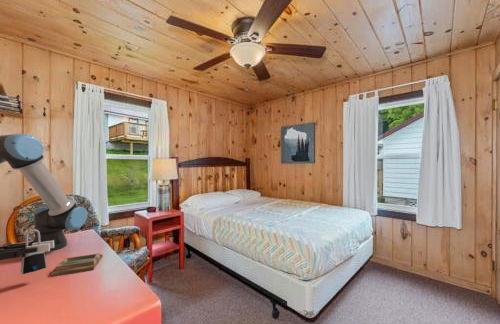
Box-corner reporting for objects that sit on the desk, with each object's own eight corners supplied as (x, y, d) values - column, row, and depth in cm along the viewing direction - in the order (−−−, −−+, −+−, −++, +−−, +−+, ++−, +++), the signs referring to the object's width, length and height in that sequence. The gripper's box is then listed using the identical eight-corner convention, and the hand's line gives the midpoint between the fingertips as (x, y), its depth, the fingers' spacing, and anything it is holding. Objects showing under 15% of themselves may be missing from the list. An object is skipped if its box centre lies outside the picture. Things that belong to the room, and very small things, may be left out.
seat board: (66, 262, 104) (66, 256, 104) (102, 256, 109) (102, 251, 109) (51, 276, 90) (51, 269, 90) (93, 269, 95) (93, 263, 95)
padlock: (44, 265, 89) (43, 226, 89) (46, 267, 87) (45, 228, 87) (20, 271, 84) (19, 230, 84) (22, 274, 81) (20, 232, 82)
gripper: (-16, 259, 87) (60, 248, 95) (-54, 278, 71) (41, 263, 80) (-17, 239, 87) (60, 230, 95) (-54, 254, 71) (40, 242, 80)
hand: (51, 245), depth 87 cm, fingers closed on padlock, 3 cm apart
